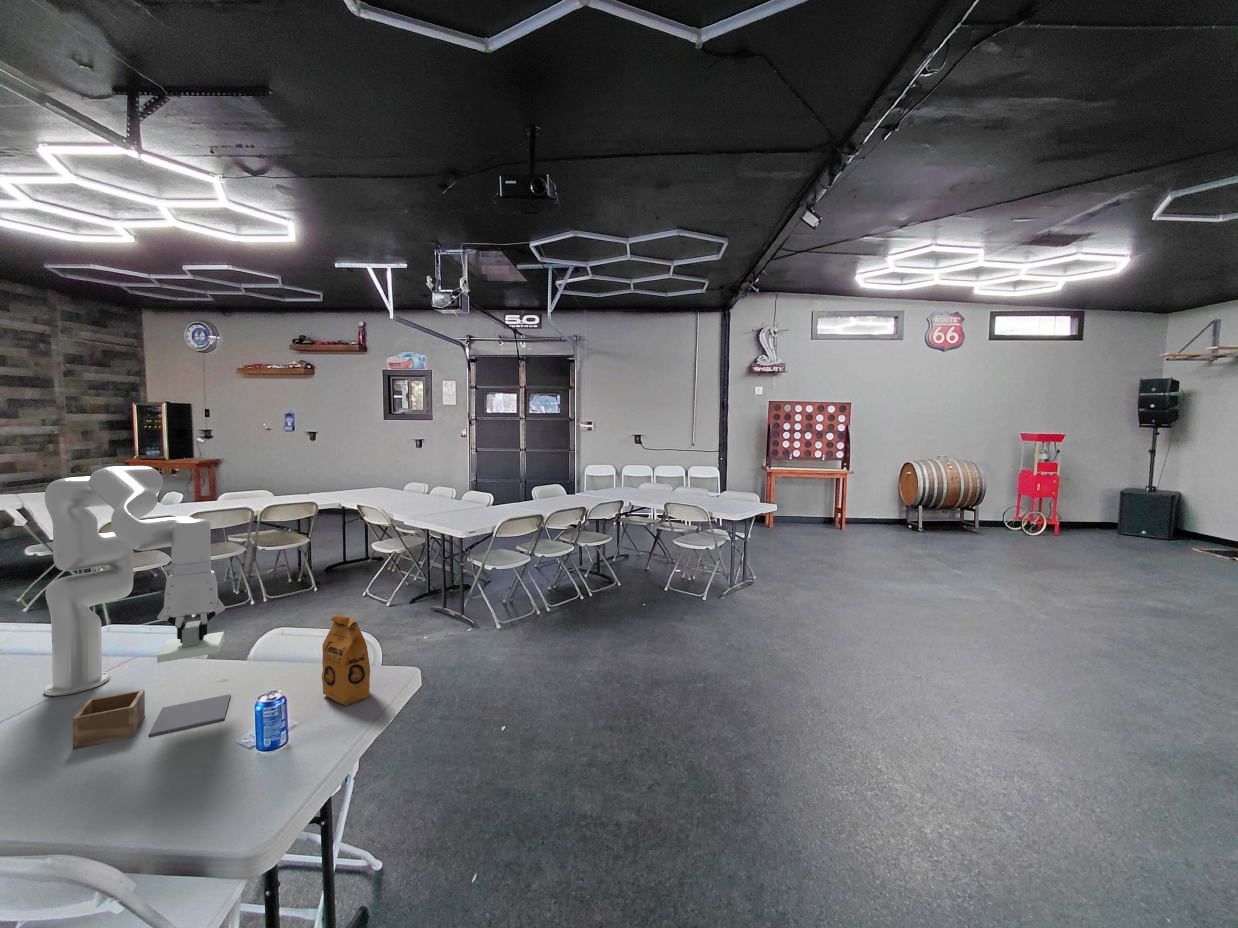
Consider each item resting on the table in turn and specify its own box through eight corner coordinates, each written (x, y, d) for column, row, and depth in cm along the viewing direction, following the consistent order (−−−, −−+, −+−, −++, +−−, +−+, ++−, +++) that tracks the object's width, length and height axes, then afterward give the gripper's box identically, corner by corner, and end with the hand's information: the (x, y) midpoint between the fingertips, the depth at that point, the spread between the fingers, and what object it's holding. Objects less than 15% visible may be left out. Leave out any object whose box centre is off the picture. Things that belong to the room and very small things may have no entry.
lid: (167, 646, 128) (167, 622, 128) (224, 638, 134) (223, 614, 134) (157, 662, 118) (156, 636, 118) (218, 652, 124) (217, 627, 124)
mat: (162, 709, 129) (162, 707, 129) (230, 696, 136) (230, 693, 136) (148, 736, 117) (148, 733, 117) (224, 719, 125) (224, 717, 125)
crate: (88, 727, 120) (88, 699, 120) (144, 716, 125) (144, 689, 125) (72, 749, 112) (72, 718, 111) (133, 736, 117) (133, 706, 117)
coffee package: (338, 710, 130) (338, 628, 129) (317, 696, 137) (317, 617, 137) (375, 696, 138) (376, 618, 137) (354, 682, 145) (354, 608, 145)
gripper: (144, 575, 118) (145, 651, 118) (230, 567, 127) (231, 638, 127) (152, 568, 124) (153, 641, 125) (234, 561, 133) (234, 629, 134)
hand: (192, 639), depth 126 cm, fingers closed on lid, 3 cm apart
